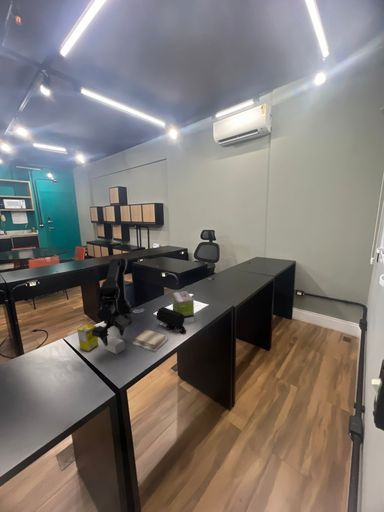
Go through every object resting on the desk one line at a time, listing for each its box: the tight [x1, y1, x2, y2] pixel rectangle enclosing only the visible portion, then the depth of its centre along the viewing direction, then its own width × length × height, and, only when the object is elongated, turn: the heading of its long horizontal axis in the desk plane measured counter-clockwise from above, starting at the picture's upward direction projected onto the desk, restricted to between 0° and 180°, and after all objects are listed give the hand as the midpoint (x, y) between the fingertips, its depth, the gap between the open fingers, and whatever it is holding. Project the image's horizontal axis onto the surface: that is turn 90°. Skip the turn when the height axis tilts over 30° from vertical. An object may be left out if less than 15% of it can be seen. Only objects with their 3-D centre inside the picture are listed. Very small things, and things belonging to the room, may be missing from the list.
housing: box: [104, 336, 126, 355], centre depth 103 cm, size 8×5×4 cm, turn 62°
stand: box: [131, 329, 169, 353], centre depth 108 cm, size 14×11×3 cm
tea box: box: [171, 290, 195, 325], centre depth 130 cm, size 15×10×15 cm
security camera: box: [156, 306, 187, 335], centre depth 119 cm, size 7×18×10 cm, turn 53°
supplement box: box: [77, 323, 99, 353], centre depth 103 cm, size 6×6×11 cm
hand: (114, 340), depth 102 cm, fingers open, 9 cm apart
